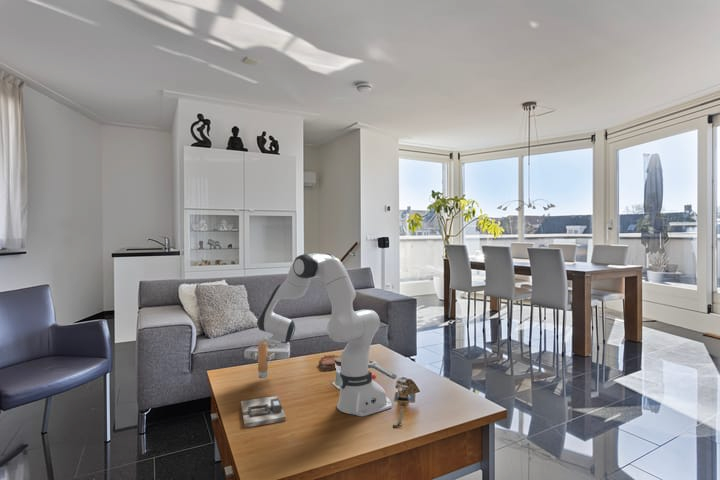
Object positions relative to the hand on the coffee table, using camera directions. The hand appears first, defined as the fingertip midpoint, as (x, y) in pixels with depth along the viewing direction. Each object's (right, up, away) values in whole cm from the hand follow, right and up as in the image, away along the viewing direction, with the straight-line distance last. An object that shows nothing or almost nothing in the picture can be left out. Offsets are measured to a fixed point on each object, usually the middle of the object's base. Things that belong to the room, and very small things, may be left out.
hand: (262, 358), depth 167 cm
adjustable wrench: (+53, -17, +33) cm, 64 cm away
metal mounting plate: (+4, -17, -14) cm, 22 cm away
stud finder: (+9, -15, -14) cm, 23 cm away
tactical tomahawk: (+60, -18, -16) cm, 64 cm away
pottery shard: (+27, -17, +40) cm, 51 cm away
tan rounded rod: (0, -8, +1) cm, 8 cm away
